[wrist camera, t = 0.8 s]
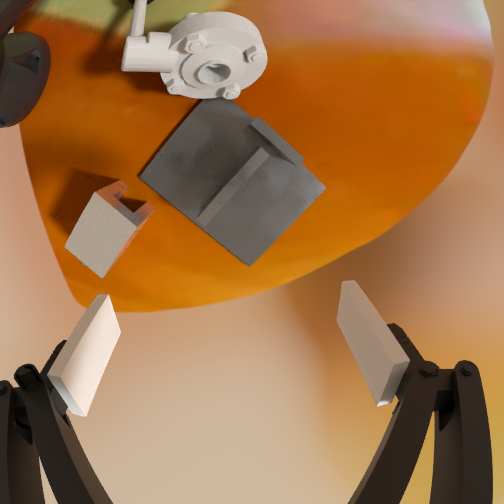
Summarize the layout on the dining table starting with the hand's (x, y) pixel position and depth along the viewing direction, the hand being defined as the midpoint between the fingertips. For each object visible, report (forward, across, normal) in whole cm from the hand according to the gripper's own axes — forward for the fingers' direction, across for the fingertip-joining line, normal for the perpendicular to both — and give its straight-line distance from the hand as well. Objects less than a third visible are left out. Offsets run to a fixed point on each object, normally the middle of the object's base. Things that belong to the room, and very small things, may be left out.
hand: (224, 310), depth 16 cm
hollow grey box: (+22, -14, 0) cm, 26 cm away
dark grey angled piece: (+22, +1, +3) cm, 22 cm away
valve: (+22, -4, +22) cm, 31 cm away
